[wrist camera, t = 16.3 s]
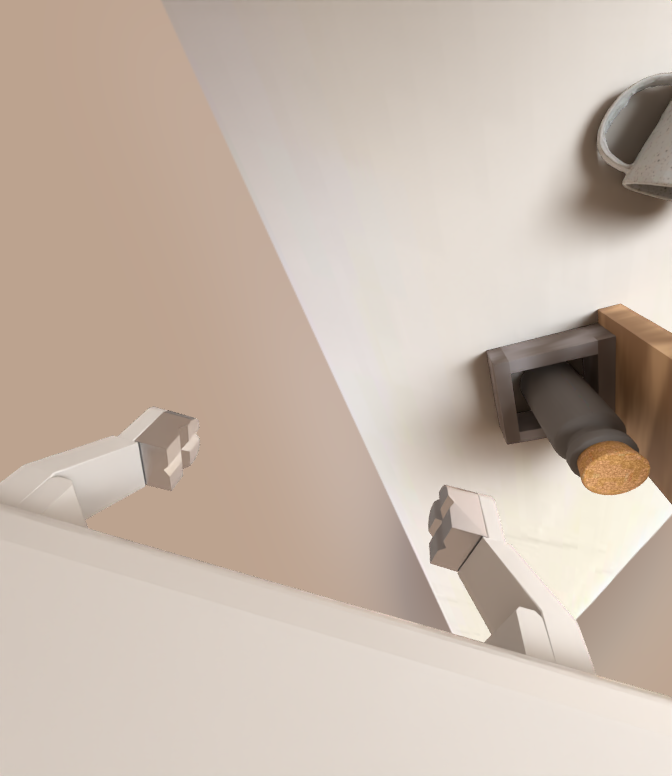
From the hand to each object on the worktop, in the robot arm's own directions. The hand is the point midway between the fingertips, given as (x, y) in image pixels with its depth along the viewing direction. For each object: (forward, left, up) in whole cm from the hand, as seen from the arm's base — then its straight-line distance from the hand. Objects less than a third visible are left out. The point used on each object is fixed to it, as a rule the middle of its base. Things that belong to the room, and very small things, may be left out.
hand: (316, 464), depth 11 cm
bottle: (-15, +19, -30) cm, 39 cm away
